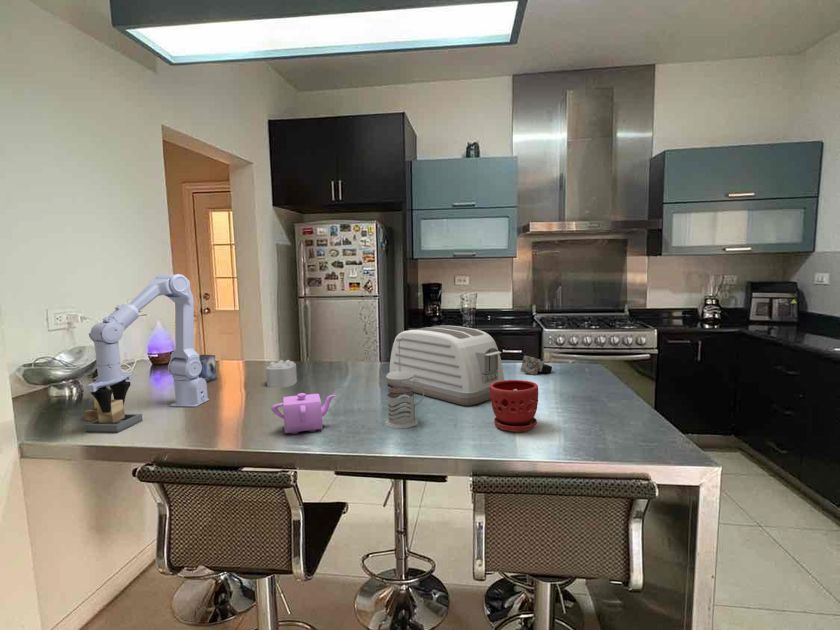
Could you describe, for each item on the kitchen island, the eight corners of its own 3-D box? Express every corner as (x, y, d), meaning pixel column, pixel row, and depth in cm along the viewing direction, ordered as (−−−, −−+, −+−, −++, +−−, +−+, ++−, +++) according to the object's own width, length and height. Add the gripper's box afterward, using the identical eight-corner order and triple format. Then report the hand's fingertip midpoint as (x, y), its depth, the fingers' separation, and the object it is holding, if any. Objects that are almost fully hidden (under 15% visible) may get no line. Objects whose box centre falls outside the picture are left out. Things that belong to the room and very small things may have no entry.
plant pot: (537, 419, 134) (537, 379, 133) (538, 436, 121) (538, 391, 120) (492, 417, 137) (491, 377, 136) (488, 433, 124) (487, 389, 123)
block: (124, 417, 139) (122, 399, 138) (113, 422, 134) (110, 404, 134) (110, 417, 139) (108, 399, 139) (98, 422, 135) (96, 404, 134)
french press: (386, 416, 140) (383, 334, 137) (424, 416, 139) (423, 333, 137) (382, 428, 130) (379, 340, 127) (424, 427, 130) (422, 339, 127)
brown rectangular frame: (124, 413, 149) (123, 404, 149) (106, 421, 142) (105, 411, 142) (103, 413, 150) (102, 404, 150) (85, 420, 143) (84, 411, 142)
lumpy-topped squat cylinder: (264, 387, 177) (262, 365, 176) (275, 379, 190) (274, 358, 189) (291, 387, 177) (289, 364, 176) (300, 378, 190) (299, 357, 189)
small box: (200, 386, 182) (198, 359, 181) (186, 385, 183) (184, 359, 182) (217, 379, 192) (215, 354, 191) (203, 378, 193) (201, 354, 192)
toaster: (473, 410, 144) (472, 339, 141) (382, 385, 176) (380, 327, 174) (516, 395, 159) (516, 330, 157) (426, 374, 192) (424, 321, 189)
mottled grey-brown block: (550, 377, 193) (547, 379, 184) (523, 369, 197) (519, 371, 188) (554, 361, 193) (552, 362, 183) (527, 354, 197) (523, 355, 187)
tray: (142, 421, 141) (142, 414, 141) (117, 433, 131) (116, 425, 131) (112, 420, 142) (111, 413, 142) (85, 432, 132) (84, 424, 132)
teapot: (335, 417, 140) (334, 385, 139) (341, 433, 127) (339, 397, 126) (273, 425, 135) (271, 391, 134) (272, 442, 122) (269, 404, 121)
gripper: (115, 358, 142) (119, 402, 144) (75, 369, 128) (80, 417, 130) (136, 358, 142) (140, 402, 143) (98, 369, 127) (103, 417, 129)
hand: (113, 409), depth 136 cm, fingers closed on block, 4 cm apart
